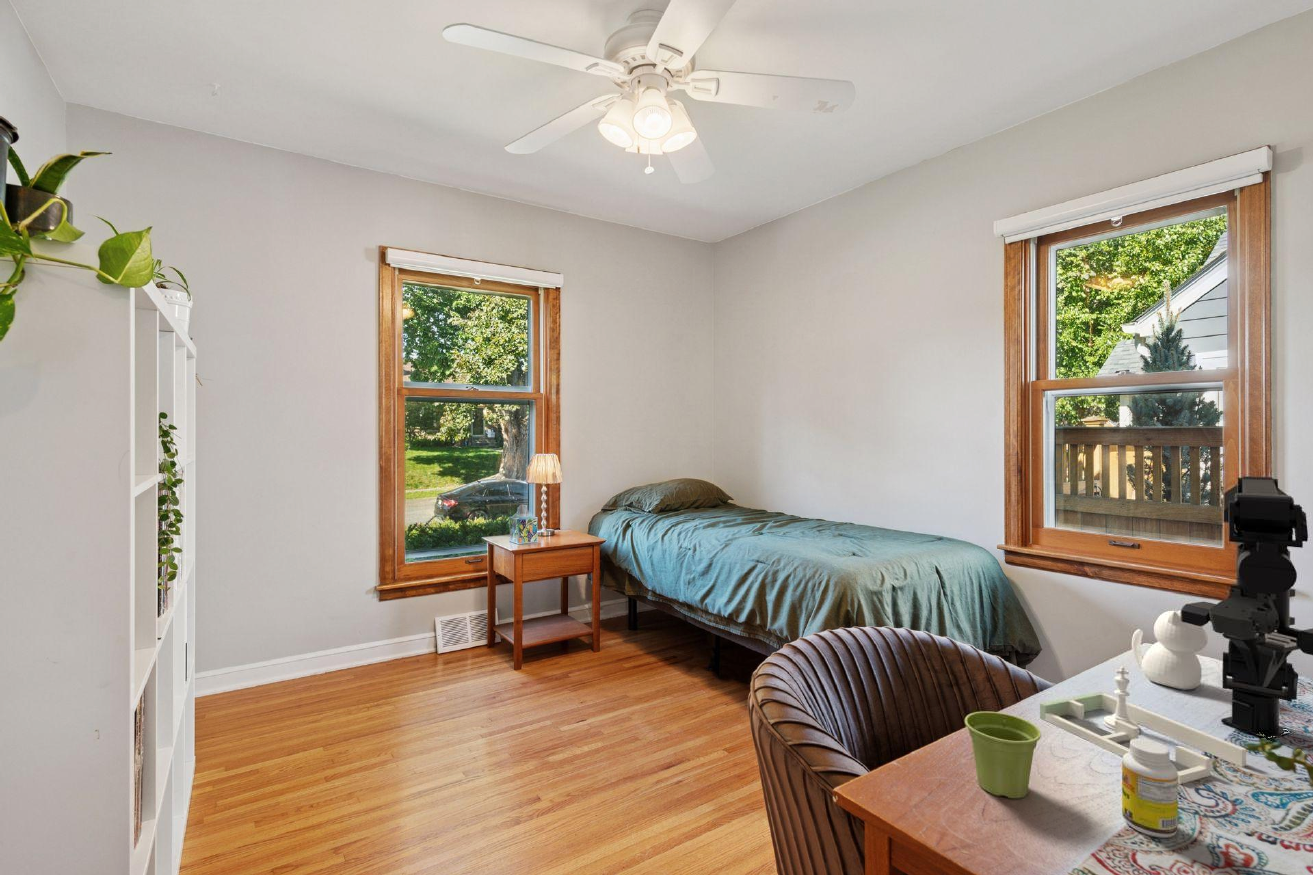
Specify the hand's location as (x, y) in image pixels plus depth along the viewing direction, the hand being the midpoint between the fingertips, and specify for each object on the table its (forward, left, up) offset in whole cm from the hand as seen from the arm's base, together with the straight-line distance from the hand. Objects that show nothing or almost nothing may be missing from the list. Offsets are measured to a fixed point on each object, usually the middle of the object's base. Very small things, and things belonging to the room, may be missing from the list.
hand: (1261, 686), depth 95 cm
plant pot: (+40, -9, -12) cm, 43 cm away
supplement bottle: (+30, +4, -12) cm, 33 cm away
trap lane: (+9, -12, -12) cm, 19 cm away
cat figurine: (-21, -26, -12) cm, 36 cm away
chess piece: (+6, -16, -12) cm, 21 cm away
